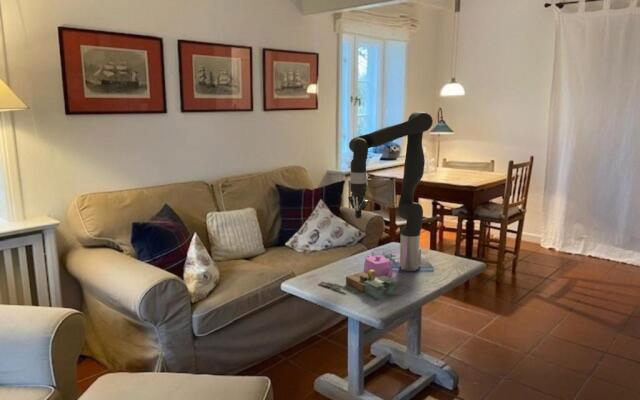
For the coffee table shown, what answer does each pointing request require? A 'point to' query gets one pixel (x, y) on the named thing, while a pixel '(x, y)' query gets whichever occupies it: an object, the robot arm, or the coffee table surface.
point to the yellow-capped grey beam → (372, 276)
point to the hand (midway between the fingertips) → (358, 217)
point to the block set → (372, 285)
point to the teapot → (378, 266)
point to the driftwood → (337, 287)
